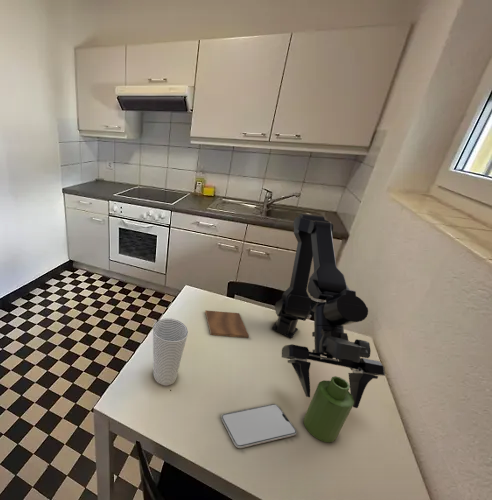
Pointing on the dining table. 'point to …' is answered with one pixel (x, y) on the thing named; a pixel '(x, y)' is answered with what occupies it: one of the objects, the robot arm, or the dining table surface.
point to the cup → (168, 349)
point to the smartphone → (257, 425)
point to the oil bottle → (329, 409)
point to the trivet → (226, 324)
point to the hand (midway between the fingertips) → (331, 402)
